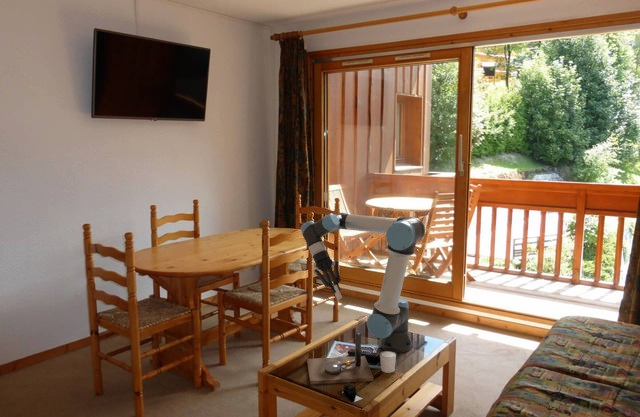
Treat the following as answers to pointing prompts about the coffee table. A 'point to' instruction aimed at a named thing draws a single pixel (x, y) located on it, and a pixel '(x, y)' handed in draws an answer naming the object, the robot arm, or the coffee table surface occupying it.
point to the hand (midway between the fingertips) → (339, 298)
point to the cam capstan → (335, 366)
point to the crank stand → (346, 374)
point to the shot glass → (387, 361)
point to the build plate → (350, 393)
